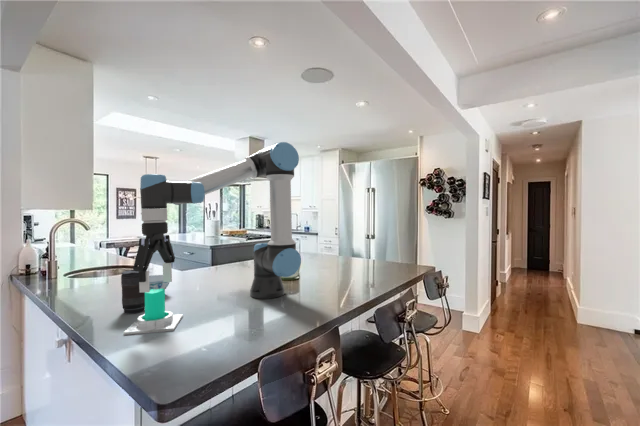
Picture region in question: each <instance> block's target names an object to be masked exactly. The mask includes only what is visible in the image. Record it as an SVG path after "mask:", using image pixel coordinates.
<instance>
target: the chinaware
mask: <svg viewBox="0 0 640 426" xmlns="http://www.w3.org/2000/svg"><path fill="white" fill-rule="evenodd" d="M170 283H171V282H163V274H155V275H154V274H153V275H149V287H150V290H151V289H161V288H163V289H165V290H166V289H167V288H168V286H170Z"/></svg>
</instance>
